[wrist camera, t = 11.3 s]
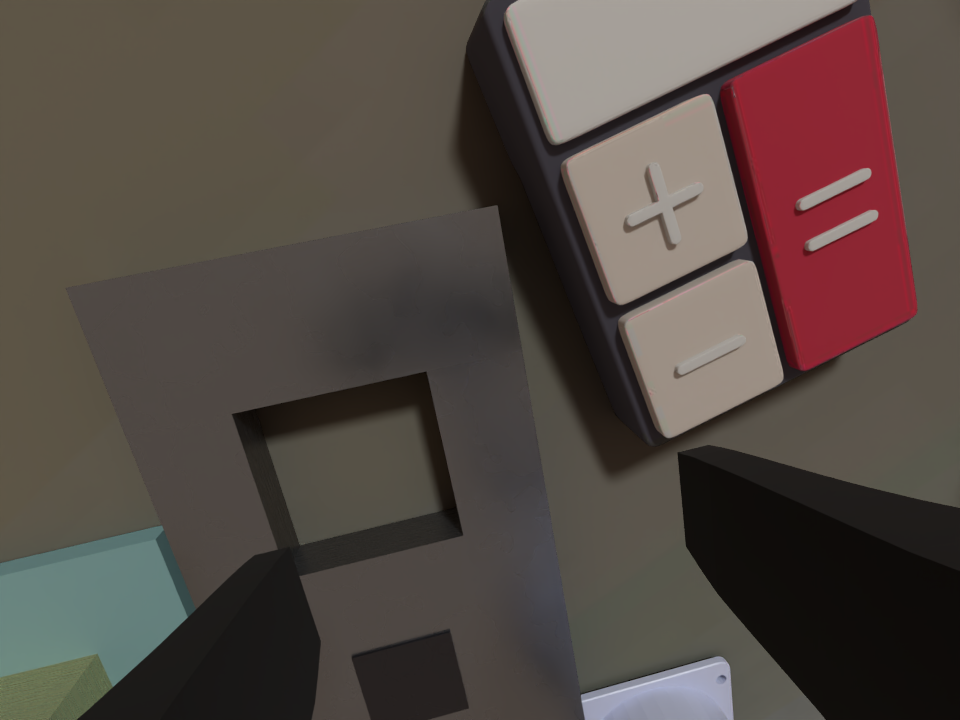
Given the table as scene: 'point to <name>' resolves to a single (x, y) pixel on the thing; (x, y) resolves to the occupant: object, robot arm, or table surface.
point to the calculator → (704, 187)
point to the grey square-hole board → (337, 366)
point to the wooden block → (54, 690)
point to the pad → (92, 603)
